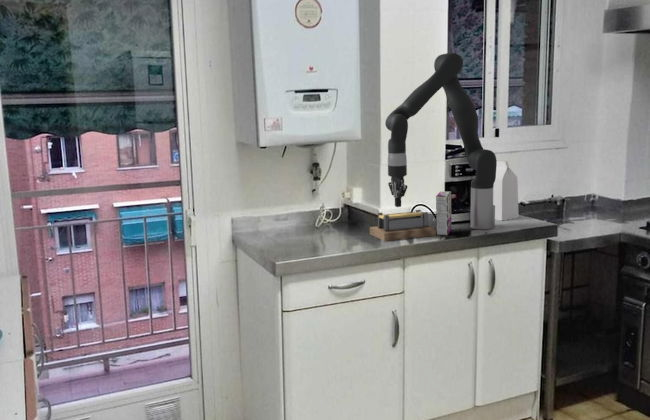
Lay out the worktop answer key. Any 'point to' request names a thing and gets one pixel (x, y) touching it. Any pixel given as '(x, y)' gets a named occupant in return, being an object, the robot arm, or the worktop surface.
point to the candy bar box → (443, 213)
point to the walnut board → (402, 233)
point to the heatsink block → (402, 222)
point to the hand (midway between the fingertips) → (398, 206)
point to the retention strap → (403, 215)
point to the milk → (505, 192)
